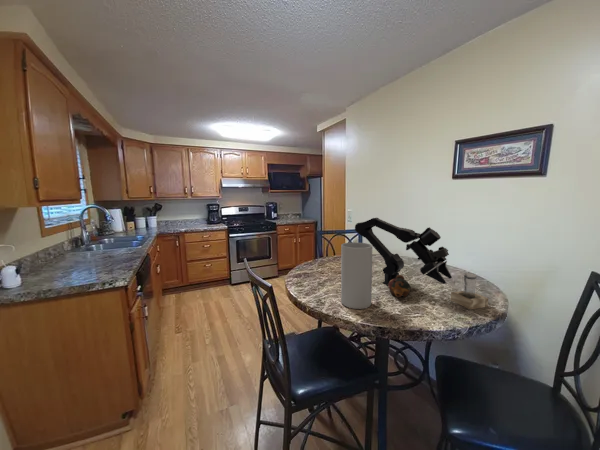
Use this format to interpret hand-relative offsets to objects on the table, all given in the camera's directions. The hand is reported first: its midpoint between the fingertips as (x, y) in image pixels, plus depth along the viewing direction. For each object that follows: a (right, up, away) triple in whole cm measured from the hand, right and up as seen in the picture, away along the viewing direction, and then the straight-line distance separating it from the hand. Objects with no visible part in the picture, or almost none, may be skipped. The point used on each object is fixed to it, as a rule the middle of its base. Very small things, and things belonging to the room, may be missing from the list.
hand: (448, 280), depth 105 cm
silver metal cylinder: (+6, -8, -5) cm, 11 cm away
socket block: (+6, -8, -5) cm, 11 cm away
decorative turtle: (-19, -8, +5) cm, 22 cm away
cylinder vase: (-41, -9, -3) cm, 42 cm away
